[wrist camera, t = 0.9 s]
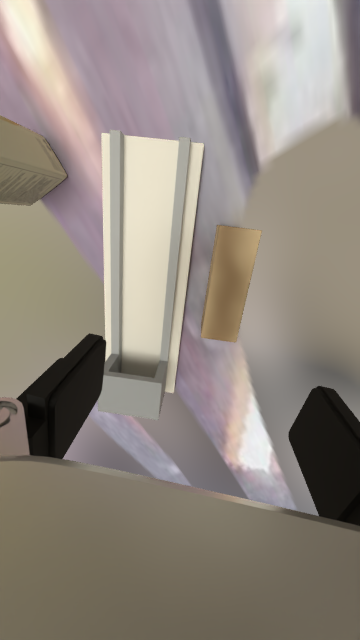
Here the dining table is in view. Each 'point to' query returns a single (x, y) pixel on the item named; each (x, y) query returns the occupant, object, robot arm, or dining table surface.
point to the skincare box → (26, 165)
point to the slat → (228, 281)
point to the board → (145, 265)
